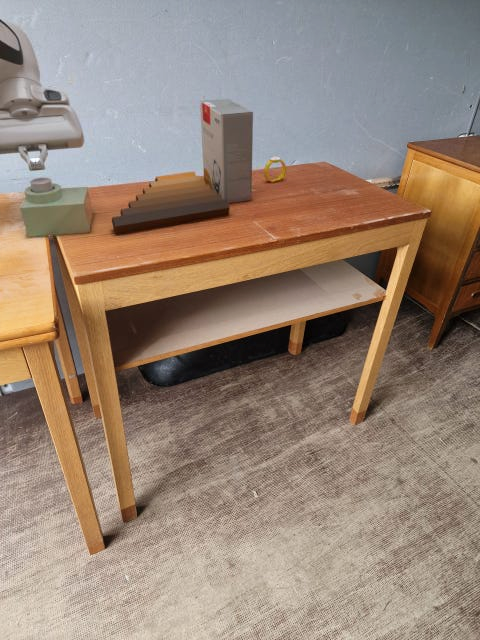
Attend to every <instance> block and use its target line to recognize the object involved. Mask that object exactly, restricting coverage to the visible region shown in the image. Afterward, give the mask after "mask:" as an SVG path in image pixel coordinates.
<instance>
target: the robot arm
mask: <svg viewBox="0 0 480 640" xmlns="http://www.w3.org/2000/svg"><path fill="white" fill-rule="evenodd" d="M84 144H85V136H84V130H83V128H82V125H81V122H80V119H79V117H78V114H77V112H76V110H75V109H74V108H73V107H72V106H71V103H70V100H69V97H68V94H67V93H66V92H64V91H60V90H56V89H51V88H47V87H44V86H43V85H42V84H41V72H40V66H39V63H38V59H37V55H36V53H35V50H34V48H33V45H32V43H31V41H30V38H29V37H28V36H27V33H25V32H24V30H23V29H21V28H20V26H18V25H16V24H14V23H12V22H9V21H4V20H2V19H1V18H0V155H9V154H10V155H11V154H19V155H20V157H21V159H22V160H24V161H25V162H26V164H27V167H28V169H29V172H34V171H45V170H46V166H45V163H46V160H47V158H48V155H49V152H48V151H57V150H66V149H80V148H82V147H83V146H84ZM33 152H39V153H40V154H39V157H36V158H35V157H34V158H33V157H32V158H31V157H30V156H29V153H33Z"/></svg>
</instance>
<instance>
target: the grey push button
mask: <svg viewBox="0 0 480 640" xmlns="http://www.w3.org/2000/svg"><path fill="white" fill-rule="evenodd" d="M29 183H30V186H31V187H32V191H33V192H34V193H44V192H49V191H51V190H53V185H52V183H53V182H52V179H51V178H49V177H38V178H33V179H31V180H30V181H29Z"/></svg>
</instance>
